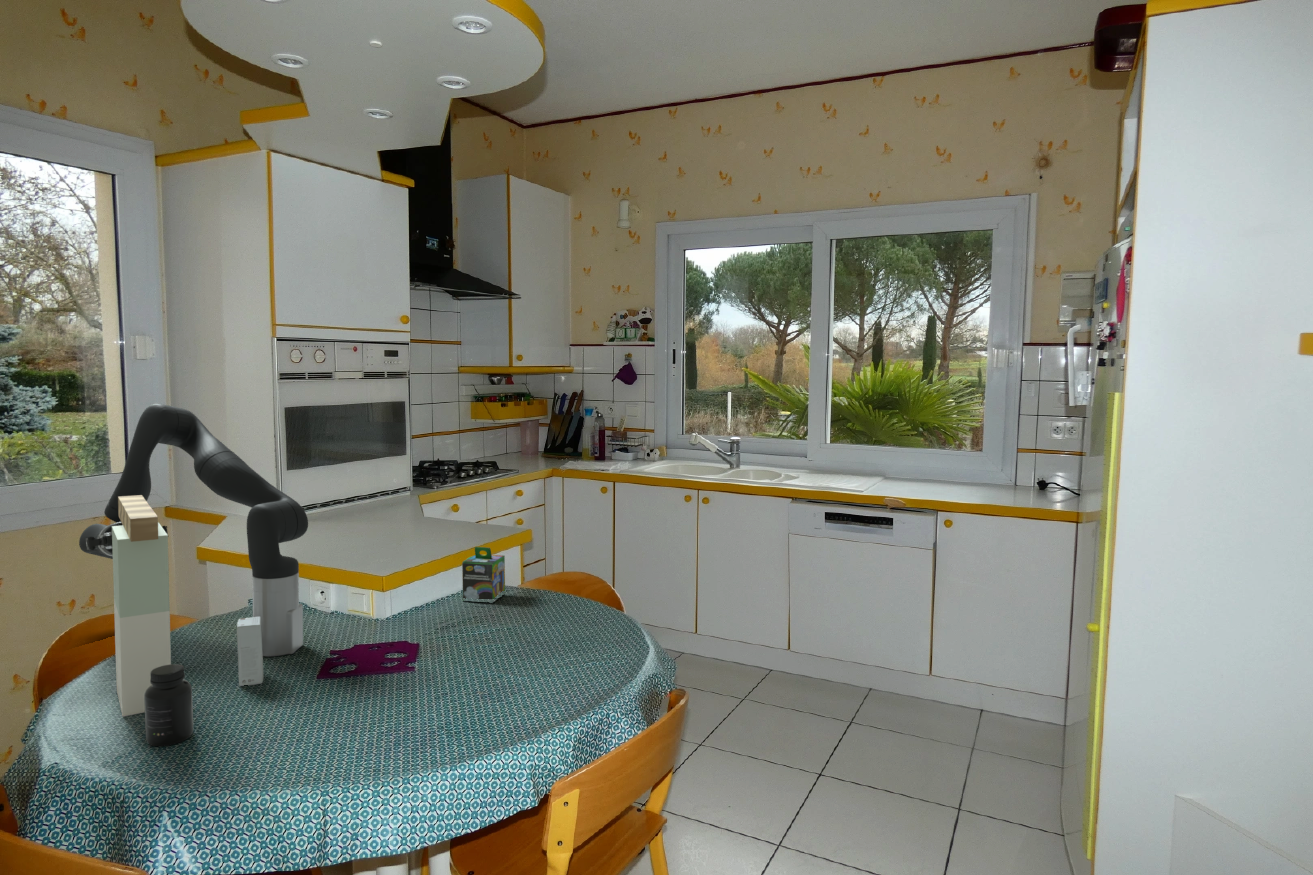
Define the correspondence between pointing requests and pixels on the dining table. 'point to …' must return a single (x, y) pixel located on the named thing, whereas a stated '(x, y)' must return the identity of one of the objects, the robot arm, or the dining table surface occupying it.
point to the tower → (140, 614)
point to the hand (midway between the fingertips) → (133, 536)
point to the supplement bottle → (168, 706)
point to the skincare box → (249, 651)
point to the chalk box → (483, 575)
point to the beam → (138, 518)
